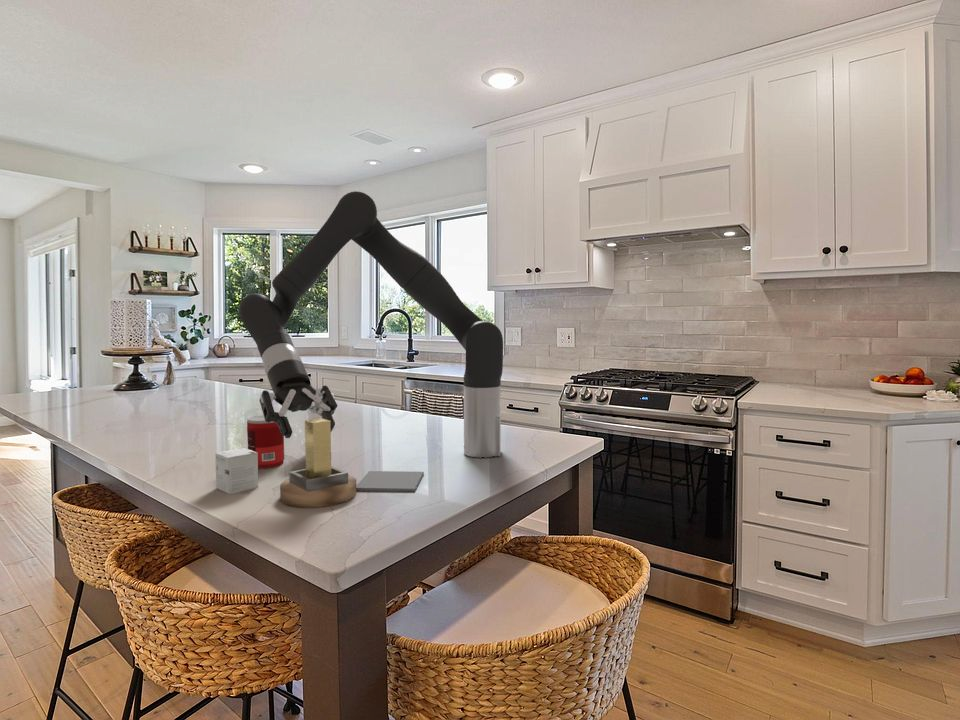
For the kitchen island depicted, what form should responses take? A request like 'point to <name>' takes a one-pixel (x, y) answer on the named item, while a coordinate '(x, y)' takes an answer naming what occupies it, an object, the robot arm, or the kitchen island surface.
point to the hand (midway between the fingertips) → (310, 432)
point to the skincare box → (236, 470)
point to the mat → (389, 481)
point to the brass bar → (318, 448)
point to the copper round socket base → (317, 489)
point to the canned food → (265, 441)
